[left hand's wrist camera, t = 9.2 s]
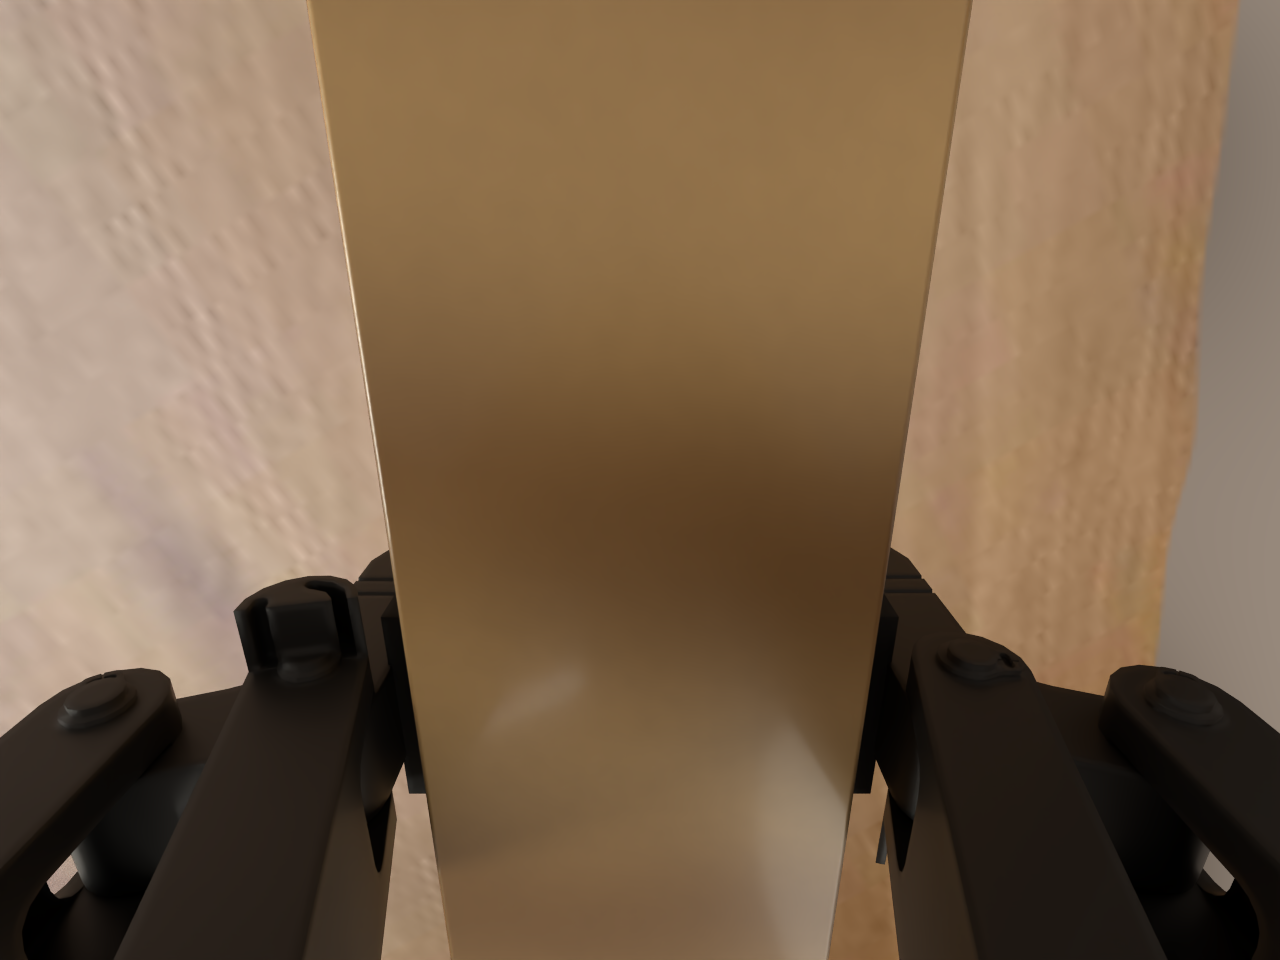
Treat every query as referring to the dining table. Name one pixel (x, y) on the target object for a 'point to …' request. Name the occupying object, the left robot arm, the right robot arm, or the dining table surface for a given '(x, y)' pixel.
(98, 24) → the dining table surface
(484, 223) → the plank
